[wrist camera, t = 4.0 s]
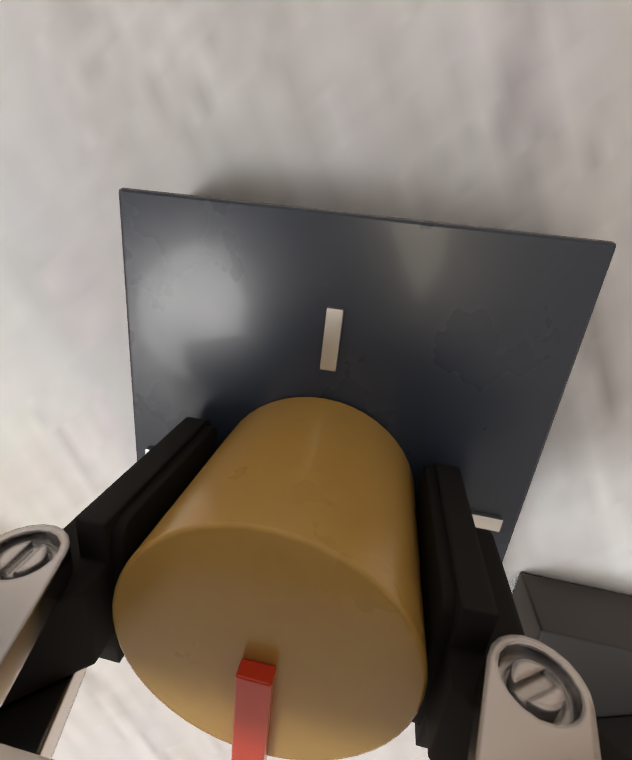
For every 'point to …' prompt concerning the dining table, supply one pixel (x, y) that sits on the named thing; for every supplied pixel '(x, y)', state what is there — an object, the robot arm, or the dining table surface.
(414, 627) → the dial
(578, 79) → the dining table surface
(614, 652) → the button block
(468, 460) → the console
